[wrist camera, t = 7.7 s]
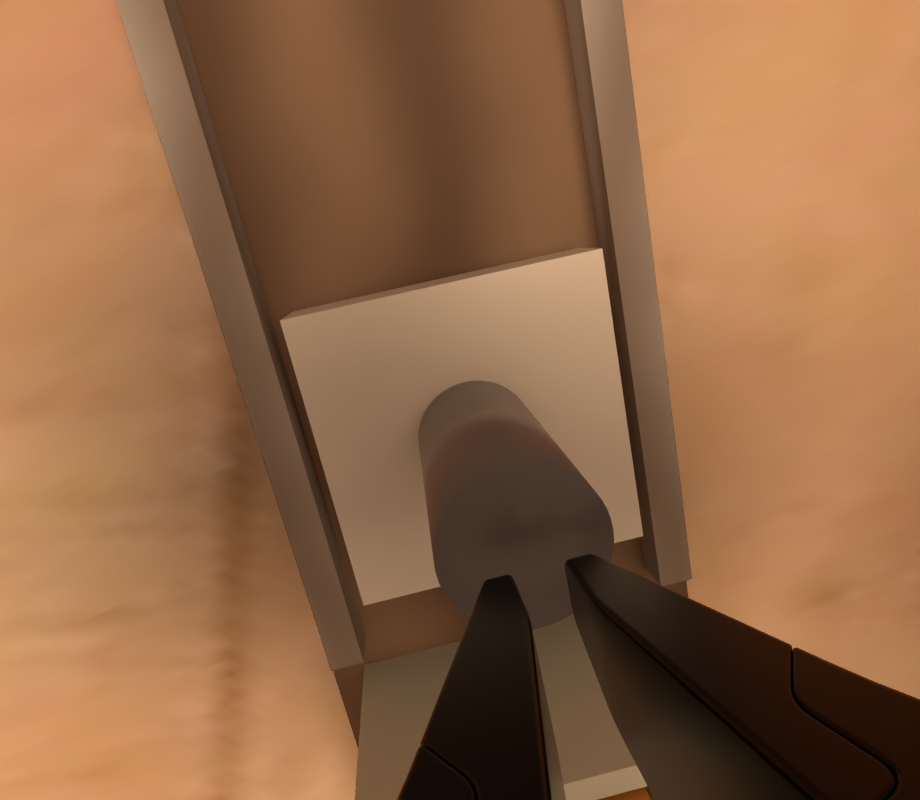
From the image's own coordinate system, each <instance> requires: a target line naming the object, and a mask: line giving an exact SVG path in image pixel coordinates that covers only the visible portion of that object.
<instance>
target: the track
mask: <svg viewBox="0 0 920 800" xmlns="http://www.w3.org/2000/svg"><path fill="white" fill-rule="evenodd" d="M116 4H117V7H118V10H119V13H120V16H121V19H122V22H123V25H124V28H125V32H126V35H127V38H128V41H129V44H130V47H131V50H132V53H133V56H134V59H135V63H136V66H137V69H138V72H139V75H140V78H141V81H142V84H143V87H144V90H145V94H146V97H147V100H148V103H149V106H150V109H151V112H152V115H153V118H154V122H155V125H156V128H157V131H158V134H159V137H160V140H161V143H162V146H163V149H164V153H165V156H166V159H167V162H168V165H169V168H170V171H171V174H172V177H173V181H174V184H175V187H176V190H177V193H178V196H179V199H180V202H181V205H182V208H183V212H184V215H185V218H186V221H187V224H188V227H189V230H190V233H191V236H192V240H193V243H194V246H195V249H196V252H197V255H198V258H199V261H200V264H201V267H202V271H203V274H204V277H205V280H206V283H207V286H208V289H209V292H210V295H211V299H212V302H213V305H214V308H215V311H216V314H217V317H218V320H219V323H220V326H221V330H222V333H223V336H224V339H225V342H226V345H227V348H228V351H229V354H230V358H231V361H232V364H233V367H234V370H235V373H236V376H237V379H238V382H239V385H240V389H241V392H242V395H243V398H244V401H245V404H246V407H247V410H248V413H249V417H250V420H251V423H252V426H253V429H254V432H255V435H256V438H257V441H258V444H259V448H260V451H261V454H262V457H263V460H264V463H265V466H266V469H267V472H268V476H269V479H270V482H271V485H272V488H273V491H274V494H275V497H276V500H277V503H278V507H279V510H280V513H281V516H282V519H283V522H284V525H285V528H286V531H287V534H288V538H289V541H290V544H291V547H292V550H293V553H294V556H295V559H296V562H297V566H298V569H299V572H300V575H301V578H302V581H303V584H304V587H305V590H306V593H307V597H308V600H309V603H310V606H311V609H312V612H313V615H314V618H315V621H316V625H317V628H318V631H319V634H320V637H321V640H322V643H323V646H324V649H325V652H326V656H327V659H328V662H329V665H330V668H331V671H332V670H333V671H334V674H335V677H336V681H337V684H338V687H339V690H340V693H341V696H342V699H343V702H344V705H345V709H346V712H347V715H348V718H349V721H350V724H351V727H352V730H353V733H354V737H355V740H356V743H357V746H358V748H359V734H360V719H361V705H362V690H363V676H364V665H367V664H371V663H375V662H379V661H383V660H387V659H391V658H395V657H399V656H403V655H407V654H410V653H414V652H418V651H422V650H426V649H430V648H434V647H438V646H442V645H446V644H450V643H454V642H458V641H461V638H462V636H463V633H464V631H465V628H466V626H467V623H468V620H469V618H468V617H467V616H465V615H464V614H463V613H461V612H460V611H459V610H458V609H457V608H456V607H455V606H454V605H453V604H452V603H451V602H450V601H449V599H448V598H447V597H446V595H445V594H444V592H443V590H442V588H441V587H437V588H433V589H429V590H425V591H421V592H417V593H413V594H409V595H405V596H401V597H397V598H393V599H389V600H385V601H381V602H377V603H373V604H369V605H365V606H364V605H363V602H362V599H361V595H360V592H359V588H358V585H357V582H356V578H355V575H354V571H353V568H352V565H351V561H350V558H349V554H348V551H347V548H346V544H345V541H344V537H343V534H342V531H341V527H340V524H339V520H338V517H337V514H336V510H335V507H334V503H333V500H332V497H331V493H330V490H329V486H328V483H327V480H326V476H325V473H324V469H323V466H322V463H321V459H320V456H319V452H318V449H317V446H316V442H315V439H314V435H313V432H312V429H311V425H310V422H309V418H308V415H307V412H306V408H305V405H304V401H303V398H302V395H301V391H300V388H299V384H298V381H297V378H296V374H295V371H294V367H293V364H292V361H291V357H290V354H289V350H288V347H287V344H286V340H285V337H284V333H283V330H282V327H281V323H280V320H281V319H283V318H284V317H286V316H287V315H289V314H290V313H292V312H293V311H298V310H302V309H307V308H311V307H315V306H320V305H324V304H329V303H333V302H338V301H342V300H347V299H351V298H356V297H360V296H365V295H369V294H374V293H378V292H383V291H387V290H391V289H396V288H400V287H405V286H409V285H414V284H418V283H423V282H427V281H432V280H436V279H441V278H445V277H450V276H454V275H459V274H463V273H467V272H472V271H476V270H481V269H485V268H490V267H494V266H499V265H503V264H508V263H512V262H517V261H521V260H526V259H530V258H535V257H539V256H543V255H548V254H552V253H557V252H561V251H566V250H570V249H575V248H602V250H603V257H604V264H605V271H606V278H607V285H608V292H609V299H610V306H611V313H612V320H613V327H614V334H615V341H616V348H617V355H618V362H619V369H620V376H621V383H622V390H623V397H624V404H625V411H626V418H627V425H628V432H629V439H630V446H631V453H632V460H633V467H634V474H635V481H636V488H637V495H638V502H639V509H640V517H641V524H642V531H643V536H641V537H637V538H633V539H629V540H625V541H621V542H617V543H614V551H613V556H612V561H611V563H613V564H615V565H618V566H620V567H622V568H624V569H626V570H629V571H631V572H633V573H635V574H637V575H639V576H642V577H644V578H646V579H648V580H650V581H653V582H655V583H657V584H659V585H661V586H663V587H666V588H668V589H670V590H672V591H674V592H677V593H679V594H681V595H683V596H685V597H687V598H688V593H687V585H686V580H690V579H692V576H691V568H690V560H689V551H688V543H687V535H686V527H685V518H684V510H683V502H682V493H681V485H680V477H679V468H678V460H677V452H676V444H675V435H674V427H673V419H672V410H671V402H670V394H669V385H668V377H667V369H666V360H665V352H664V344H663V336H662V327H661V319H660V311H659V302H658V294H657V286H656V277H655V269H654V261H653V253H652V244H651V236H650V228H649V219H648V211H647V203H646V194H645V186H644V178H643V170H642V161H641V153H640V145H639V136H638V128H637V120H636V111H635V103H634V95H633V86H632V78H631V70H630V62H629V53H628V45H627V37H626V28H625V20H624V12H623V3H622V0H116Z"/></svg>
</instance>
